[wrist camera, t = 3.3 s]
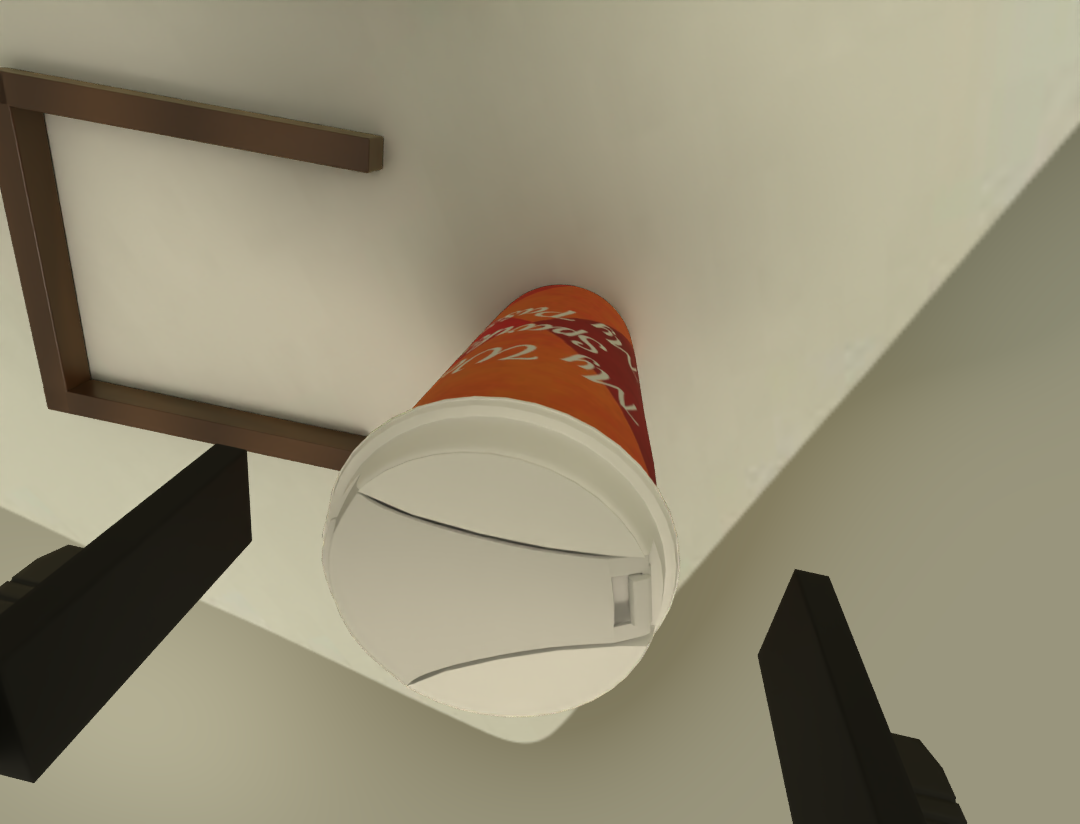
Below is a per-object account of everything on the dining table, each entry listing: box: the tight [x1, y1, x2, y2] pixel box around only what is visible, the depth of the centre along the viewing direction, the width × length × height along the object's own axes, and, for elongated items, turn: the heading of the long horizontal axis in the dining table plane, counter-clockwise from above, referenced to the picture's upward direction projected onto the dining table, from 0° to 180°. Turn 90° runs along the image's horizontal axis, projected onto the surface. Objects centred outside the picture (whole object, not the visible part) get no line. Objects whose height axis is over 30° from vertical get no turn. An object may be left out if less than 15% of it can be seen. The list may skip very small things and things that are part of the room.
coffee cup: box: [322, 285, 680, 717], centre depth 20 cm, size 8×8×15 cm
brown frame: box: [0, 67, 384, 471], centre depth 27 cm, size 15×14×2 cm
